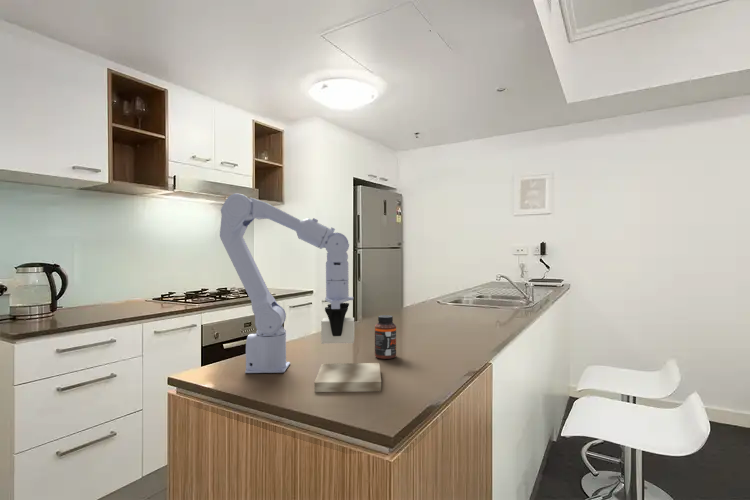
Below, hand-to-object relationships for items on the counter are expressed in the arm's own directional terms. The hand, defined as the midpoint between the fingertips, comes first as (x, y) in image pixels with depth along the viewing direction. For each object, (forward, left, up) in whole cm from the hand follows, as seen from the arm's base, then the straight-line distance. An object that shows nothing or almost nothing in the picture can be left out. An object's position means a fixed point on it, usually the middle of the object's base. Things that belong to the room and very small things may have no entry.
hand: (337, 333), depth 104 cm
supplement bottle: (+12, +9, -9) cm, 17 cm away
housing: (0, 0, -2) cm, 2 cm away
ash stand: (+3, -11, -8) cm, 15 cm away
